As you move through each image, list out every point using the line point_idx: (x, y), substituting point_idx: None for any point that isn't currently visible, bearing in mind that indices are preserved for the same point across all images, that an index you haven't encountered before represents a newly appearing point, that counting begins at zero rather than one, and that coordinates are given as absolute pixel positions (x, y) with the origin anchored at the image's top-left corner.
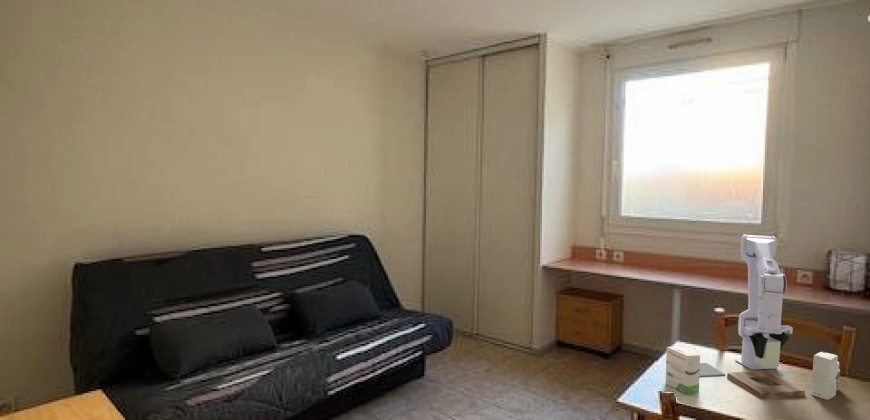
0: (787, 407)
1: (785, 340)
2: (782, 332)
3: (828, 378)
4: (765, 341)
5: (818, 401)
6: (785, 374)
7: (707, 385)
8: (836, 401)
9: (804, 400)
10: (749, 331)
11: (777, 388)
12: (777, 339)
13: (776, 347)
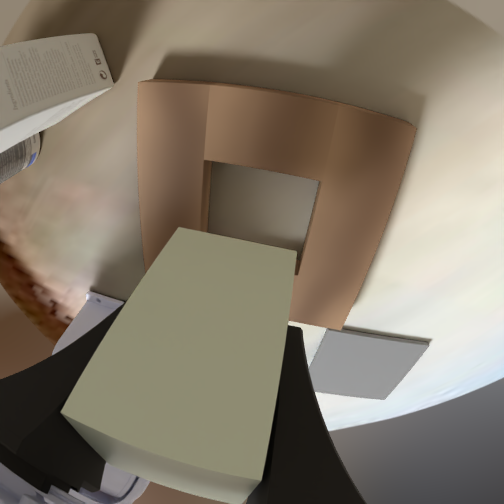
0: (366, 8)
1: (9, 391)
2: (2, 463)
3: (16, 44)
4: (293, 495)
5: (140, 24)
6: (86, 254)
7: (476, 292)
8: (73, 25)
9: (196, 38)
10: None
11: (265, 137)
12: (72, 433)
13: (137, 370)
